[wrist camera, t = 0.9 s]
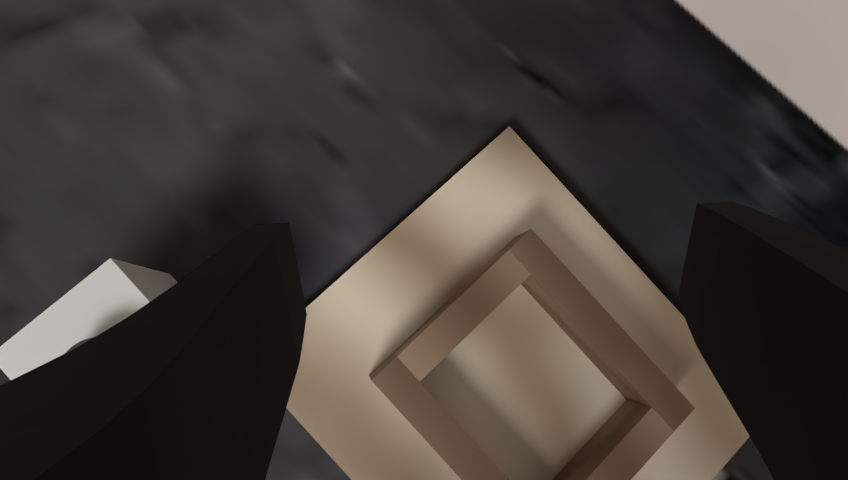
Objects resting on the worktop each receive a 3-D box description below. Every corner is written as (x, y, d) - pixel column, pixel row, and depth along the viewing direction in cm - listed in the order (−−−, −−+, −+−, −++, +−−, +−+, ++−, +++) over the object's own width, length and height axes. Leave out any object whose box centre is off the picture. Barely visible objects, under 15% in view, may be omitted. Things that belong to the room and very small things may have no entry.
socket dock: (529, 671, 23) (555, 719, 20) (248, 360, 23) (234, 366, 20) (757, 409, 25) (808, 420, 22) (504, 132, 25) (524, 109, 23)
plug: (173, 445, 22) (97, 502, 15) (83, 346, 22) (-34, 358, 15) (257, 370, 23) (220, 392, 16) (170, 274, 23) (95, 254, 16)
